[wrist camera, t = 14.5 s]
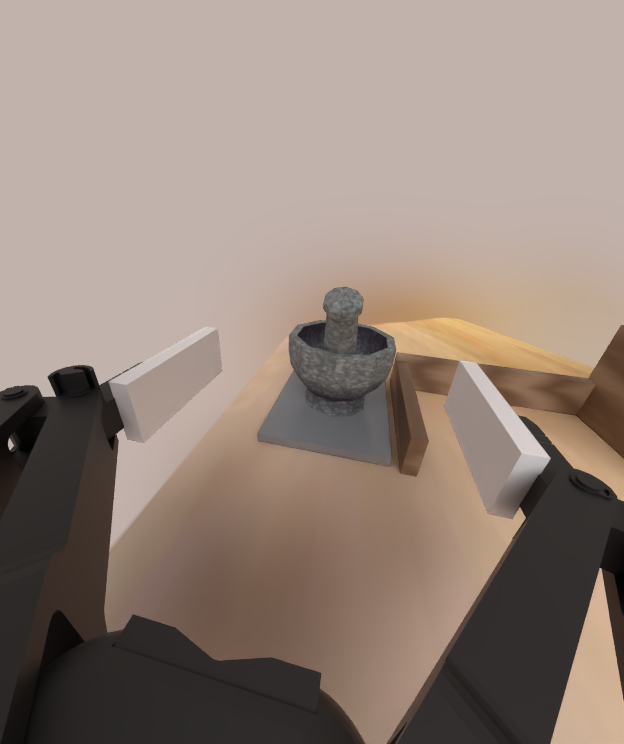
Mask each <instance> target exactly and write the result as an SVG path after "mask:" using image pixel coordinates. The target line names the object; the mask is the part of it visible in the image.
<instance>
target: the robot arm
mask: <svg viewBox="0 0 624 744" xmlns="http://www.w3.org/2000/svg"><path fill="white" fill-rule="evenodd" d="M221 371H222V365H221V355H220V345H219V336H218V328H211V327H204V328H202V329H201V330H199V331H197V332H195V333H193V334H192V335H190V336H188V337H186V338H185V339H183V340H182V341H179V342H178V343H176V344H174V345H172V346H171V347H169V348H167V349H165V350H164V351H162V352H160V353H158V354H156V355H155V356H153V357H151V358H149V359H148V360H146V361H144V362H141V363H139V364H137V365H135V366H133V367H131V368H130V369H128V370H126V371H124V372H123V373H122V374H119V375H117V376H115V377H114V378H112V379H110V380H108V381H106V382H105V383H103V384H101V385H99V383H98V381H97V378H96V375H95V372H94V369H93V367H91V366H86V365H78V366H71V367H66V368H62V369H60V370H57V371H55V372H53V373H51V374H50V375H49V376H48V379H49V381H50V383H51V386H52V388H53V390H54V392H55V395H56V397H42V395H41V393H40V391H39V389H38V387H36V386H30V385H28V386H27V385H25V386H15V387H13V388H12V387H11V388H7V389H5V390H4V391H1V392H0V744H365V742H364V740H363V739H362V737H361V735H360V734H359V732H358V730H357V729H356V727H355V726H354V724H353V722H352V721H351V720H350V718H349V717H348V716H347V714H346V713H345V712H344V711H343V709H342V708H341V707H340V706H339V705H338V704H337V703H336V702H335V701H334V700H333V699H332V698H331V697H330V696H329V695H328V694H327V693H325V692H324V691H323V690H321V689H320V679H321V673H319V672H316V671H313V670H310V669H306V668H303V667H300V666H297V665H294V664H290V663H287V662H284V661H281V660H278V659H274V658H256V659H240V660H224V661H218V660H214V659H212V658H211V657H210V656H208V655H207V654H206V653H205V652H204V651H203V650H201V649H200V648H199V647H198V646H197V645H195V644H194V643H193V642H192V641H191V640H189V639H188V638H187V637H186V636H185V635H184V634H182V633H181V632H180V631H179V630H178V629H176V628H175V627H172V626H168V625H165V624H162V623H159V622H155V621H152V620H149V619H146V618H143V617H139V616H136V615H132V617H131V619H130V620H129V622H128V623H127V625H126V627H125V628H124V630H119V631H114V632H109V633H107V628H106V623H105V616H104V604H105V592H106V581H107V569H108V558H109V546H110V534H111V523H112V511H113V500H114V487H115V476H116V465H117V453H118V438H117V435H116V434H117V433H118V432H119V431H120V430H122V429H123V428H124V431H125V433H126V437H127V439H128V440H132V441H137V442H143V443H144V442H145V441H146V440H147V439H148V438H150V437H151V436H152V435H153V434H154V433H155V432H156V431H157V430H158V429H159V428H161V427H162V426H163V425H164V424H165V423H166V422H167V421H168V420H169V419H170V418H171V417H173V416H174V415H175V414H176V413H177V412H178V411H179V410H180V409H181V408H182V407H183V406H184V405H186V403H188V402H189V401H190V400H191V399H192V398H193V397H194V396H195V395H196V394H198V393H199V391H201V390H202V389H203V388H204V387H205V386H206V385H207V384H208V383H209V382H211V381H212V380H213V379H214V378H215V377H216V376H217V375H218V374H219V373H220V372H221ZM444 406H445V409H446V411H447V414H448V416H449V419H450V421H451V424H452V426H453V429H454V431H455V434H456V436H457V439H458V441H459V444H460V446H461V449H462V451H463V454H464V456H465V459H466V461H467V464H468V466H469V468H470V471H471V473H472V476H473V478H474V481H475V483H476V486H477V488H478V491H479V493H480V496H481V498H482V501H483V503H484V506H485V508H486V511H487V513H488V514H491V515H496V516H501V517H505V518H510V519H513V517H514V515H515V514H516V512H517V511H518V509H519V508H521V509H522V511H523V513H524V515H525V517H526V519H525V521H524V522H523V524H522V525H521V527H520V528H519V529H518V531H517V532H516V534H515V535H514V537H513V538H512V539H513V540H512V541H511V543H510V545H509V546H508V548H507V550H506V551H505V553H504V554H503V556H502V558H501V559H500V561H499V563H498V564H497V566H496V567H495V569H494V571H493V572H492V574H491V576H490V577H489V579H488V581H487V582H486V584H485V585H484V587H483V589H482V590H481V592H480V594H479V595H478V597H477V599H476V600H475V602H474V603H473V605H472V607H471V608H470V610H469V612H468V613H467V615H466V616H465V618H464V620H463V621H462V623H461V625H460V626H459V628H458V630H457V631H456V633H455V634H454V636H453V638H452V639H451V641H450V643H449V644H448V646H447V648H446V649H445V651H444V652H443V654H442V656H441V657H440V659H439V661H438V662H437V664H436V665H435V667H434V669H433V670H432V672H431V674H430V675H429V677H428V679H427V680H426V682H425V683H424V685H423V687H422V688H421V690H420V692H419V693H418V695H417V697H416V698H415V700H414V701H413V703H412V705H411V706H410V708H409V709H408V711H407V713H406V714H405V716H404V717H403V719H402V720H401V722H400V723H399V725H398V726H397V728H396V730H395V731H394V733H393V734H392V736H391V737H390V739H389V741H388V742H387V744H550V742H551V739H552V735H553V732H554V728H555V724H556V721H557V717H558V714H559V710H560V707H561V703H562V700H563V696H564V692H565V689H566V685H567V682H568V678H569V675H570V671H571V668H572V664H573V660H574V657H575V653H576V650H577V646H578V643H579V639H580V636H581V632H582V628H583V625H584V621H585V618H586V614H587V611H588V607H589V603H590V600H591V596H592V593H593V589H594V586H595V582H596V579H597V575H598V571H599V568H601V569H602V574H603V579H604V585H605V591H606V597H607V603H608V609H609V615H610V621H611V627H612V633H613V639H614V645H615V651H616V657H617V663H618V669H619V675H620V681H621V687H622V693H623V699H624V501H621V500H618V499H617V495H616V494H615V493H614V492H613V490H612V489H611V488H610V487H609V486H607V485H606V484H605V483H604V482H602V481H601V480H599V479H597V478H596V477H594V476H592V475H591V474H588V473H586V472H583V471H581V470H578V469H573V467H572V466H571V465H570V464H569V463H568V461H567V460H566V459H565V458H564V457H563V455H562V454H561V453H560V452H559V451H558V449H557V448H556V447H555V446H554V445H552V442H551V441H550V440H549V439H548V438H547V437H545V434H544V433H543V432H542V430H541V429H540V428H539V427H538V426H537V425H536V424H534V423H533V422H532V421H530V420H529V419H527V418H526V417H523V416H517V414H516V413H515V412H514V411H513V409H512V408H511V407H510V405H509V404H508V403H507V402H506V400H505V399H504V398H503V396H502V395H501V394H500V393H499V391H498V390H497V389H496V387H495V386H494V385H493V384H492V382H491V381H490V380H489V378H488V377H487V376H486V375H485V373H484V372H483V371H482V369H481V368H480V367H479V366H478V364H477V363H476V362H469V361H462V360H460V361H459V364H458V367H457V370H456V373H455V376H454V378H453V381H452V384H451V387H450V390H449V393H448V396H447V399H446V401H445V404H444ZM9 438H10V439H11V441H12V443H13V445H14V447H13V448H12V449H11V450H9V448H8V439H9Z"/></svg>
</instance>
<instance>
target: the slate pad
mask: <svg viewBox="0 0 624 744" xmlns="http://www.w3.org/2000/svg"><path fill="white" fill-rule="evenodd" d="M306 390H307V387H306V386H305V385H304V384H303V382H302V381H301V380H300V379H299V378H298V376H297V374H296V373H295V371H293V373H292V374H291V376H290V378H289V380H288V381H287V383H286V385H285V387H284V388H283V390H282V392H281V394H280V395H279V397H278V399H277V401H276V402H275V404H274V406H273V407H272V409H271V411H270V413H269V414H268V416H267V418H266V420H265V421H264V423H263V425H262V427H261V428H260V430H259V432H258V441H263V442H268V443H273V444H278V445H283V446H288V447H293V448H299V449H304V450H309V451H314V452H319V453H324V454H329V455H334V456H340V457H345V458H350V459H355V460H360V461H365V462H370V463H375V464H381V465H386V466H390V463H391V459H392V457H391V445H390V433H389V421H388V409H387V397H386V385H385V381H384V382H383V383H382V384H381V385H380V386H379V387H378V388H377V389H375V390H373V391H372V392H370V393H368V394H366V395H365V399H364V409H363V410H361V411H359V412H358V413H356V414H354V415H352V416H345V417H330V416H328V415H325V414H322V413H320V412H317V411H315V410H313V409H312V408H311V407H310V405H309V404H308V403H307V402H306V400H305V394H306Z"/></svg>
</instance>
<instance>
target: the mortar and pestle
mask: <svg viewBox="0 0 624 744" xmlns="http://www.w3.org/2000/svg"><path fill="white" fill-rule="evenodd" d="M363 301H364V299H363V297H362V296H361V295H360V294H359V292H358V291H357V290H354V289H351V288H348V287H341V288H334V289H333V290H331V291H330V292H328V293H327V294H326V295H325V300H324V303H323V309H324V311H325V312H326V313H327V317H326V321H321V320H319V321H314V322H310V323H305V324H300V325H297V326H296V327H295V329H294V330H293V331H292V332H291V334H290V335H289V354H290V361H291V365H292V367H293V369H294V371H295V373H296V374H297V376H298V378H299V379H300V380H301V381H302V382H303V384H304V385H305V386H306V387H307V390H306V394H305V400H306V402H307V403H308V404H309V405H310V407H311V408H312V409H313V410H315V411H317V412H320V413H322V414H325V415H328V416H330V417H345V416H352V415H354V414H356V413H358V412H359V411H361V410H363V409H364V399H365V395H366V394H368V393H370V392H372V391H373V390H375V389H377V388H378V387H379V386H380V385H381V384H382V383H383V382H384V381H385V380H386V378H387V377H388V374H389V372H390V369H391V367H392V365H393V361H394V357H395V353H396V346H395V341H394V338H393V337H392V336H390V335H388V334H386V333H384V332H382V331H380V330H378V329H377V328H375V327H371V326H366V325H362V324H358V316H359V315H360V314H361V313H362V308H363Z"/></svg>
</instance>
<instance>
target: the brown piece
mask: <svg viewBox="0 0 624 744" xmlns="http://www.w3.org/2000/svg"><path fill="white" fill-rule="evenodd" d="M458 364H459V361H456V360H449V359H442V358H435V357H427V356H420V355H413V354H405V353H398V352H397V353H396V358H395V362H394V366H393V371H392V375H391V379H390V386H391V395H392V404H393V412H394V421H395V430H396V439H397V447H398V456H399V465H400V473H402V474H407V475H412V476H417V473H418V470H419V468H420V465H421V462H422V459H423V456H424V453H425V450H426V447H427V445H428V442H429V441H428V437H427V434H426V430H425V426H424V422H423V419H422V415H421V411H420V407H419V404H418V400H417V396H416V392H415V390H417V391H424V392H430V393H437V394H443V395H448V393H449V390H450V387H451V384H452V381H453V378H454V376H455V373H456V370H457V367H458ZM477 364H478V363H477ZM478 366H479V367H480V368H481V369H482V371H483V372H484V373H485V375H486V376H487V377H488V378H489V380H490V381H491V382H492V384H493V385H494V386H495V387H496V389H497V390H498V391H499V393H500V394H501V395H502V396H503V398H504V399H505V400H506V402H507V403H508V404H509V405H514V406H521V407H527V408H533V409H540V410H546V411H553V412H559V413H566V414H572V415H577V416H578V417H579V418H580V419H581V420H582V421H583V422H585V423H586V424H587V425H588V426H589V427H590V428H591V429H592V430H593V431H595V432H596V433H597V434H598V435H599V436H600V437H601V438H602V439H603V440H605V441H606V442H607V443H608V444H609V445H610V446H611V447H612V448H613V449H615V450H616V451H617V452H618V453H619V454H620V455H621V456H622V457H623V458H624V325H621V326H620V328H619V330H618V331H617V333H616V334H615V336H614V338H613V339H612V341H611V343H610V344H609V346H608V347H607V349H606V351H605V352H604V354H603V356H602V357H601V359H600V360H599V362H598V364H597V365H596V367H595V368H594V370H593V372H592V373H591V375H590V377H589V378H588V379H587V378H580V377H573V376H566V375H558V374H551V373H544V372H536V371H529V370H522V369H515V368H507V367H500V366H493V365H486V364H478Z"/></svg>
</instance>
